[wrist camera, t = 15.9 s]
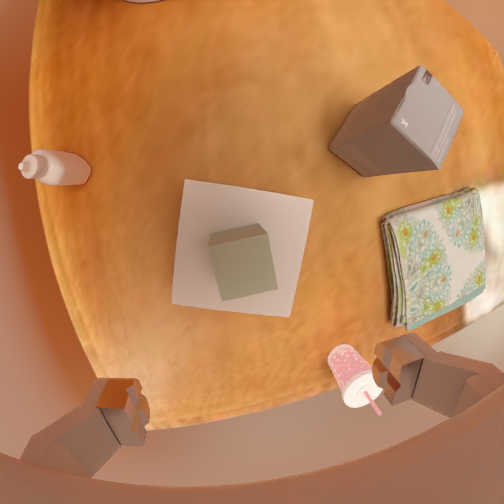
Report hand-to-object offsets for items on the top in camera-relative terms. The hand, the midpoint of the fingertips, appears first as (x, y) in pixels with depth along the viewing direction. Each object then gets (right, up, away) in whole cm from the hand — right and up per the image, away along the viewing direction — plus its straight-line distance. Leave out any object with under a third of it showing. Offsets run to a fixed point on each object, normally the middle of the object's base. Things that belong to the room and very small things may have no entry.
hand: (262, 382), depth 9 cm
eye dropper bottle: (-23, +15, +22) cm, 36 cm away
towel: (+29, +4, +31) cm, 43 cm away
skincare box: (+14, +19, +26) cm, 35 cm away
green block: (-2, +4, +21) cm, 22 cm away
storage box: (-2, +5, +27) cm, 28 cm away
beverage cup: (+14, -12, +33) cm, 38 cm away
